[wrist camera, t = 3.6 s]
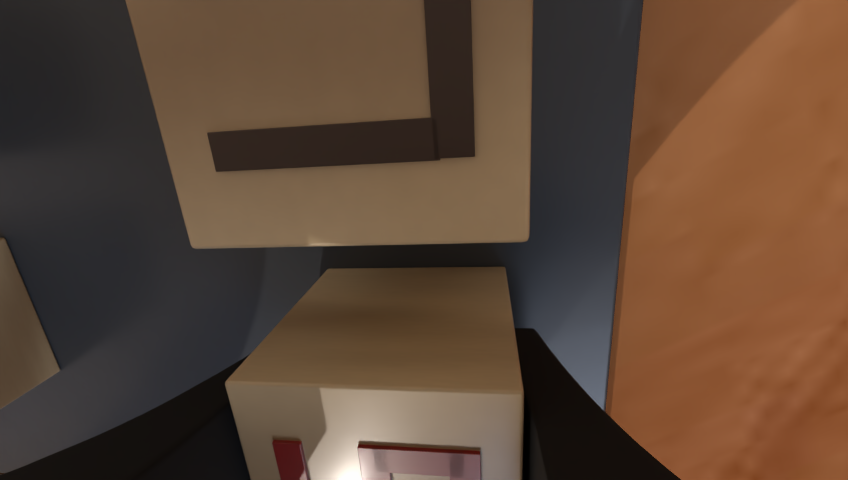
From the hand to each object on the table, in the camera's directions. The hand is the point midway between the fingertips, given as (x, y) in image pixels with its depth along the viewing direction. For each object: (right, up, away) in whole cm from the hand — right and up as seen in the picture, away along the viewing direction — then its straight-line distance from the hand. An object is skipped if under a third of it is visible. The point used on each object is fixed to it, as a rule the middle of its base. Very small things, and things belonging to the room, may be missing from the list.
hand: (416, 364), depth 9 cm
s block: (0, 0, +1) cm, 1 cm away
